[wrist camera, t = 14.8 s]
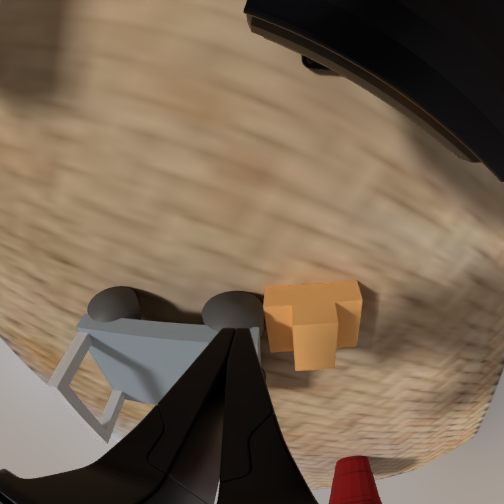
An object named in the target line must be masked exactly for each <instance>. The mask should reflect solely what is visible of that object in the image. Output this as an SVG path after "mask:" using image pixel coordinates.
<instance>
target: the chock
mask: <svg viewBox="0 0 504 504" xmlns="http://www.w3.org/2000/svg"><path fill="white" fill-rule="evenodd" d="M362 301H363V299H362V296H361V292H360V289H359V286H358V282H357V280H355V281H343V282H330V283H317V284H303V285H288V286H272V287H265V293H264V304H263V309H264V315H265V321H266V328H267V334H268V340H269V347H270V352H291V351H294V359H295V371H303V370H319V369H332V368H335V359H336V348H347V347H357V341H358V333H359V326H360V318H361V310H362Z"/></svg>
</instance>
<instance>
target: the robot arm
mask: <svg viewBox="0 0 504 504" xmlns="http://www.w3.org/2000/svg"><path fill="white" fill-rule="evenodd" d="M244 13H245V14H247V15H246V16H247V22H248V25H249V27H250V29H251V32H253V33H256V34H258V35H261V36H263V37H264V38H265V39H268V40H270V41H272V42H275V43H277V44H279V45H282V46H284V47H286V48H288V49H291V50H293V51H295V52H297V53H299V54H301V56H302V64H303V65H304V66H305V67H306V68H309V69H326V70H333V71H335V72H336V73H338V74H340V75H342V76H344V77H345V78H347V79H349V80H351V81H352V82H354V83H356V84H357V85H359V86H361V87H362V88H364V89H366V90H367V91H369V92H370V93H372V94H374V95H375V96H377V97H378V98H380V99H381V100H383V101H384V102H386V103H387V104H389V105H390V106H392V107H393V108H395V109H396V110H398V111H399V112H401V113H402V114H403V115H405V116H406V117H408V118H409V119H410V120H412V121H413V122H414V123H416V124H417V125H418V126H420V127H421V128H422V129H424V130H425V131H426V132H427V133H429V134H430V135H431V136H433V137H434V138H435V139H436V140H437V141H439V142H440V143H441V144H442V145H444V146H445V147H446V148H447V149H448V150H450V151H451V152H453V153H454V154H456V155H457V156H458V157H459V158H460V159H463V160H466V161H470V162H482V163H483V164H484V165H485V166H486V167H487V168H488V169H489V170H490V171H491V172H492V173H493V174H494V175H495V176H496V177H497V178H498V179H499V180H500V181H501V182H504V0H247V2H246V5H245V8H244ZM307 58H310V59H312V60H314V61H315V63H314V64H312V65H311V64H309V63H307ZM219 478H220V484H219V494H218V501H217V504H318V502H317V501H316V499H315V497H314V496H313V494H312V492H311V491H310V489H309V487H308V485H307V483H306V482H305V480H304V478H303V476H302V474H301V472H300V470H299V468H298V467H297V465H296V463H295V461H294V459H293V457H292V455H291V453H290V451H289V449H288V447H287V445H286V442H285V440H284V438H283V435H282V432H281V430H280V427H279V424H278V421H277V417H276V414H275V411H274V408H273V405H272V402H271V398H270V395H269V392H268V389H267V385H266V382H265V379H264V375H263V372H262V369H261V365H260V362H259V359H258V355H257V352H256V348H255V345H254V342H253V338H252V335H251V331H250V329H249V328H248V327H238V328H234V327H229V328H228V327H225V328H222V329H221V330H220V331H219V332H218V333H217V335H216V336H215V337H214V338H213V339H212V341H211V342H210V343H209V344H208V345H207V347H206V348H205V349H204V350H203V351H202V352H201V354H200V355H199V356H198V357H197V358H196V359H195V361H194V362H193V363H192V364H191V365H190V367H189V368H188V369H187V370H186V371H185V372H184V374H183V375H182V376H181V377H180V378H179V379H178V380H177V382H176V383H175V384H174V385H173V386H172V387H171V389H170V390H169V391H168V392H167V393H166V394H165V395H164V397H163V398H162V399H161V400H160V401H159V402H158V405H156V406H155V407H154V408H153V409H152V410H151V411H150V412H149V414H148V415H147V416H146V417H145V418H144V419H143V420H142V421H141V422H140V423H139V424H138V425H137V426H136V427H135V428H134V429H133V430H132V431H131V432H130V433H129V434H128V435H126V436H125V437H124V438H123V439H122V440H121V441H120V442H118V443H117V444H116V445H115V446H114V447H113V448H111V449H110V450H109V451H108V452H107V453H106V454H105V455H103V456H102V457H101V458H100V459H98V460H97V461H95V462H94V463H92V464H90V465H88V466H86V467H84V468H80V469H76V470H72V471H68V472H64V473H59V474H54V475H50V476H45V477H39V478H33V479H23V478H19V477H17V476H16V475H14V474H13V473H11V472H10V471H8V470H6V469H1V470H0V504H214V501H215V496H216V492H217V487H218V483H219Z"/></svg>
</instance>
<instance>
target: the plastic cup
mask: <svg viewBox="0 0 504 504" xmlns="http://www.w3.org/2000/svg"><path fill="white" fill-rule="evenodd" d="M329 504H382V502H381V500H380V497H379V495H378V491H377V487H376V484H375V480H374V477H373V473H372V472H371V468H370V465H369V461H368V460H367V458H366V457H365V456H353V457H347V458H344V459H341V460H339V461H337V463H336V467H335V474H334V478H333V483H332V489H331V495H330V500H329Z"/></svg>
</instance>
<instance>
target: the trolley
mask: <svg viewBox="0 0 504 504" xmlns="http://www.w3.org/2000/svg"><path fill="white" fill-rule="evenodd" d="M87 310H88V314H84V316H83V317H82V319H81V320H80V322H79V323H78V325H77V326H76V328H77V330H78V333H77V335H76V336H75V338H74V339H73V341H72V343H71V344H70V346H69V348H68V349H67V351H66V353H65V354H64V356H63V358H62V359H61V361H60V363H59V364H58V366H57V368H56V370H55V371H54V373H53V375H52V377H51V378H50V380H49V382H48V384H47V385H48V386H49V388H50V389H51V390H52V391H53V392H54V393H55V395H56V396H57V397H58V398H59V400H60V401H61V402H62V403H63V404H64V405H65V406H66V407H67V409H68V410H69V411H70V412H71V413H72V414H73V415H74V416H75V417H76V418H77V420H79V422H80V423H81V424H82V425H83V426H84V427H85V428H86V429H87V430H88V431H89V432H90V433H91V434H92V435H93V436H94V437H95V438H96V439H97V440H98V441H101V442H104V443H108V441H109V439H110V436H111V433H112V431H113V428H114V425H115V423H116V420H117V418H118V415H119V412H120V410H121V407H122V405H123V402H124V400H125V399H127V400H132V401H137V402H142V403H147V404H152V405H158V402H159V401H160V400H161V399H162V398H163V397H164V395H165V394H166V393H167V392H168V391H169V390H170V389H171V387H172V386H173V385H174V384H175V383H176V382H177V380H178V379H179V378H180V377H181V376H182V375H183V374H184V372H185V371H186V370H187V369H188V368H189V367H190V365H191V364H192V363H193V362H194V361H195V359H196V358H197V357H198V356H199V355H200V354H201V352H202V351H203V350H204V349H205V348H206V347H207V345H208V344H209V343H210V342H211V341H212V339H213V338H214V337H215V336H216V335H217V333H218V332H219V331H220V330H221V329H222V328H225V327H228V328H229V327H234V328H238V327H248V328H249V329H250V331H251V335H252V338H253V342H254V345H255V348H256V352H257V355H258V359H259V362H260V365H261V354H260V338H261V336H262V335H263V332H264V309H263V305H262V303H261V301H260V300H259V299H258V298H257V297H255V296H254V295H252V294H249V293H246V292H241V291H230V292H224V293H221V294H218V295H216V296H214V297H212V298H211V299H210V300H209V301H208V302H207V303H206V304H205V305H204V307H203V310H202V317H203V322H204V325H197V324H182V323H169V322H157V321H146V320H141V319H142V311H141V308H140V305H139V302H138V299H137V296H136V294H135V292H134V291H133V290H132V289H130V288H128V287H123V286H118V287H112V288H108V289H105V290H103V291H101V292H100V293H98V294H97V295H96V296H94V297H93V298H92V300H91V301H90V303H89V305H88V309H87ZM88 350H89V351H90V353H91V355H92V356H93V358H94V360H95V362H96V363H97V365H98V366H99V368H100V370H101V371H102V373H103V374H104V376H105V378H106V379H107V381H108V382H109V384H110V385H111V387H112V388H113V391H112V393H111V396H110V398H109V400H108V403H107V405H106V407H105V410H104V412H103V415H102V417H101V420H100V422H99V421H98V420H97V419H96V418H95V417H94V416H93V415H92V413H91V412H90V411H89V410H88V409H87V407H86V406H85V405H84V404H83V403H82V401H81V400H80V399H79V398H78V396H77V395H76V394H75V393H74V391H73V390H72V389H71V388H70V386H69V384H70V382H71V381H72V379H73V377H74V375H75V373H76V371H77V369H78V367H79V366H80V364H81V362H82V360H83V358H84V356H85V355H86V353H87V351H88ZM261 369H262V372H263V375H264V379H265V382H266V375H265V372H264V370H263V368H262V367H261Z"/></svg>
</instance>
